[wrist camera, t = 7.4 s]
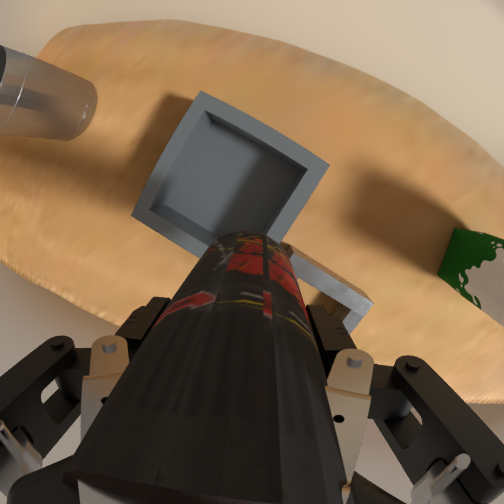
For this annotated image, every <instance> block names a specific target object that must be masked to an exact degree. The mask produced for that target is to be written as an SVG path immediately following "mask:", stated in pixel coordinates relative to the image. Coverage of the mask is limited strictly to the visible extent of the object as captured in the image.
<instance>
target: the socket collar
mask: <svg viewBox="0 0 504 504" xmlns="http://www.w3.org/2000/svg"><path fill="white" fill-rule="evenodd" d="M286 253H287V255H288V257H289V259H290V261H291V264H292V267H293V270H294V273H295V276H296V279H297V280H298V278H300V279H302V280H303V281H305V282H307V283H308V284H310V285H312V286H313V287H315V288H317V289H318V290H320V291H322V292H323V293H325V294H327V295H328V296H330V297H332V298H333V299H335V300H336V301H338V302H340V303H339V305H338V306H337V307H336V309H335V310H334V311H333V313H332V314H331V315H330V316H336V317H337V318H338V319H340V320H341V321H342V322H343V324H344V326H345V327H346V329H347V331H348V334H350V333H351V332H352V331H353V330H354V328H355V327H356V326H357V325H358V323H359V322H360V321H361V320H362V318H363V317H364V316H365V314H366V313H367V312H368V311H369V309H370V308H371V307H372V305H373V304H374V303H373V302H372V301H371V300H370V298H369V297H368V296H367V295H366V293H365V292H363V291H362V290H360V289H359V288H357V287H356V286H354V285H353V284H351V283H350V282H348V281H347V280H345V279H343V278H342V277H340V276H339V275H337V274H336V273H334V272H333V271H331V270H329V269H328V268H326V267H325V266H323V265H322V264H320V263H318V262H317V261H315V260H314V259H312V258H311V257H309V256H307V255H306V254H304V253H303V252H301V251H299V250H298V249H296V248H295V247H293V246H291V245H290V247H289V248H288V250H287V251H286Z"/></svg>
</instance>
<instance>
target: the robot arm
mask: <svg viewBox="0 0 504 504" xmlns="http://www.w3.org/2000/svg"><path fill="white" fill-rule="evenodd" d="M96 103H97V94H96V90H95V87H94V86H93V84H92V83H91V82H90V81H88V80H86V79H84V78H81V77H79V76H77V75H75V74H73V73H71V72H68V71H66V70H64V69H61V68H59V67H57V66H54V65H52V64H50V63H47V62H45V61H42V60H40V59H37V58H35V57H32V56H29V55H27V54H24V53H21V52H18V51H16V50H12V49H10V48H7V47H4V46H1V45H0V135H4V136H21V137H34V138H45V139H55V140H71V139H73V138H75V137H77V136H78V135H79V134H81V133H82V132H83V131H84V129H85V128H86V127H87V126H88V124H89V122H90V121H91V119H92V117H93V114H94V112H95V108H96ZM170 301H171V300H170V298H164V297H153V298H152V299H151V300H150V302H149V303H148V304H147V306H141V307H140V308H138V309H136V310H134V311H133V312H132V314H131V315H130V316H129V318H128V319H127V320H126V321H125V322H124V323H123V325H122V326H121V327H120V329H119V330H118V331H117V332H116V333H115V335H109V336H104V337H101V338H99V339H97V340H96V341H95V342H94V343H93V344H92V348H75V345H74V342H73V340H72V339H71V338H70V337H67V336H55V337H52V338H50V339H48V340H47V341H45V342H44V343H43V344H41V345H40V346H39V347H38V348H36V349H35V350H34V351H32V352H31V353H30V354H28V355H27V356H26V357H25V358H23V359H22V360H21V361H19V362H18V363H17V364H16V365H14V366H13V367H12V368H11V369H10V370H8V371H7V372H6V373H4V374H3V375H2V376H1V377H0V491H2V493H3V494H4V495H5V496H6V497H7V504H150V503H146V502H143V501H139V500H136V499H133V498H129V497H126V496H123V495H120V494H117V493H114V492H112V491H109V490H106V489H104V488H101V487H98V486H96V485H94V484H91V483H89V482H86V481H84V480H82V479H80V478H78V487H79V489H77V488H74V487H72V486H70V485H68V484H66V483H64V482H62V481H63V473H64V471H65V470H66V468H67V466H68V464H69V462H70V461H71V459H72V457H73V455H72V456H69V457H67V458H65V459H63V460H61V461H58V462H56V463H54V464H51V465H49V466H46V467H44V468H42V460H43V459H44V458H45V457H46V455H47V454H48V453H49V451H50V450H51V449H52V448H53V446H55V444H56V443H57V442H58V441H59V440H60V438H61V437H62V436H63V435H64V434H65V432H66V431H67V430H68V429H69V428H70V426H71V425H72V424H73V423H74V422H75V420H76V419H77V418H78V417H79V416H80V414H81V441H82V439H83V438H84V436H85V434H86V433H87V431H88V429H89V427H90V426H91V424H92V422H93V421H94V419H95V417H96V416H97V414H98V412H99V411H100V409H101V407H102V406H103V404H104V402H105V401H106V399H107V398H108V396H109V394H110V393H111V391H112V389H113V388H114V386H115V385H116V383H117V381H118V380H119V378H120V377H121V375H122V374H123V372H124V370H125V369H126V367H127V366H128V364H129V363H130V361H131V360H132V358H133V356H134V355H135V353H136V352H137V350H138V349H139V347H140V346H141V344H142V343H143V341H144V340H145V338H146V337H147V335H148V334H149V332H150V331H151V329H152V328H153V326H154V325H155V323H156V322H157V320H158V319H159V317H160V316H161V314H162V313H163V311H164V310H165V308H166V307H167V305H168V304H169V302H170ZM306 311H307V314H308V317H309V320H310V324H311V327H312V330H313V333H314V337H315V340H316V343H317V347H318V350H319V353H320V357H321V360H322V364H323V367H324V371H325V374H326V378H327V384H328V386H325V390H326V394H327V398H328V402H329V406H330V409H331V413H332V417H333V418H334V420H335V421H336V422H334V426H335V430H336V434H337V438H338V442H339V446H340V451H341V455H342V459H343V464H344V468H345V473H346V477H347V484H346V485H344V486H343V488H342V499H343V504H346V502H347V500H348V496H349V493H350V488H351V485H350V484H351V479H352V477H353V482H354V486H355V491H356V495H357V500H358V504H406V503H404V502H402V501H401V500H399V499H397V498H396V497H394V496H392V495H391V494H389V493H387V492H386V491H384V490H383V489H381V488H379V487H378V486H376V485H375V484H373V483H372V482H370V481H369V480H367V479H366V478H364V477H363V476H361V475H360V474H358V473H357V472H356V471H354V469H355V466H356V462H357V459H358V455H359V451H360V447H361V444H362V440H363V435H364V431H365V426H366V422H367V418H369V419H374V422H375V423H376V425H377V427H378V428H379V430H380V431H381V433H382V435H383V436H384V438H385V439H386V441H387V443H388V444H389V446H390V448H391V449H392V451H393V452H394V454H395V456H396V457H397V459H398V461H399V462H400V464H401V466H402V467H403V469H404V471H405V472H406V474H407V476H408V477H409V479H410V480H411V482H412V484H413V485H414V486H413V488H412V491H411V499H412V501H411V504H490V503H491V502H492V501H494V500H495V499H496V498H497V497H498V496H500V495H501V494H502V493H503V492H504V444H503V443H502V442H501V441H500V440H499V439H498V437H497V436H496V435H495V434H494V433H493V432H492V431H491V430H490V429H489V428H488V426H487V425H486V424H485V423H484V422H483V421H482V420H481V419H480V418H479V417H478V415H477V414H476V413H475V412H474V411H473V410H472V409H471V408H470V407H469V406H468V405H467V404H466V403H465V402H464V401H463V400H462V399H461V397H460V396H459V395H458V394H457V393H456V392H455V391H454V390H453V389H452V388H451V387H450V386H449V385H448V384H447V383H446V382H445V381H444V380H443V379H442V378H441V377H440V376H439V375H438V374H437V373H436V372H435V371H434V370H433V369H432V368H431V367H430V366H429V365H428V364H427V363H426V362H425V361H424V360H422V359H420V358H418V357H415V356H409V355H407V356H401V357H399V358H398V359H397V360H396V362H395V364H394V366H385V365H378V364H374V360H373V358H372V357H371V355H369V354H368V353H366V352H364V351H362V350H359V349H357V348H356V346H355V344H354V342H353V340H352V338H351V337H350V335H349V334H348V331H347V329H346V327H345V326H344V324H343V322H342V321H341V320H340V319H338V318H337V317H336V316H329V315H328V313H327V311H326V309H325V307H324V305H307V306H306ZM54 379H55V381H56V383H57V386H58V388H59V389H58V390H57V391H56V392H55V393H54V394H53V395H52V396H51V397H50V398H49V399H48V400H47V401H46V402H45V403H44V404H43V403H42V401H41V393H42V391H43V390H44V388H46V387H47V386H48V385H49V384H50V383H51V382H52V381H53V380H54ZM412 406H413V407H414V408H415V409H416V411H417V412H418V413H419V414H420V416H421V418H422V425H421V424H420V423H419V422H418V420H417V419H416V418H415V416H414V415H413V414H412V412H411V411H410V410H411V408H412ZM334 420H333V421H334Z"/></svg>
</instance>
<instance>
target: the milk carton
mask: <svg viewBox="0 0 504 504" xmlns="http://www.w3.org/2000/svg"><path fill="white" fill-rule="evenodd" d="M438 276H439V277H441V278H442V279H443V280H444V281H445V282H447V283H448V284H449V285H450V286H451V287H452V288H454V289H455V290H456V291H457V292H458V293H459V294H461V295H462V296H463V297H464V298H466V299H467V300H469V301H470V302H471V303H473V304H474V305H475V306H477V307H478V308H479V309H481V310H482V311H483V312H485V313H486V314H487V315H489V316H490V317H491V318H493V319H494V320H495V321H497V322H498V323H499V324H500V325H502V326H503V327H504V240H503V239H501V238H498V237H495V236H492V235H489V234H486V233H482V232H476V231H470V230H464V229H458V228H454V231H453V234H452V237H451V240H450V243H449V246H448V249H447V252H446V254H445V257H444V260H443V262H442V265H441V268H440V270H439V273H438Z"/></svg>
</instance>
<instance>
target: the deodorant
mask: <svg viewBox="0 0 504 504" xmlns="http://www.w3.org/2000/svg"><path fill="white" fill-rule="evenodd" d="M325 386H328V384H327V378H326V374H325V371H324V367H323V364H322V360H321V357H320V353H319V350H318V347H317V343H316V340H315V337H314V333H313V330H312V327H311V324H310V320H309V317H308V314H307V311H306V308H305V304H304V301H303V298H302V295H301V292H300V289H299V285H298V282H297V279H296V276H295V273H294V270H293V267H292V264H291V261H290V259H289V257H288V255H287V253H286V251H285V250H284V249H283V248H282V247H281V246H280V245H279V244H278V243H277V242H276V241H275V240H273V239H271V238H270V237H268V236H267V235H264V234H261V233H258V232H255V231H237V232H232V233H228V234H226V235H224V236H222V237H220V238H218V239H217V240H216V241H215V242H214V243H212V244H211V245H210V246H209V247H208V249H207V250H206V251H205V253H204V254H203V255H202V257H201V258H200V260H199V261H198V262H197V264H196V265H195V267H194V268H193V269H192V271H191V272H190V274H189V275H188V277H187V278H186V279H185V281H184V282H183V284H182V285H181V287H180V288H179V289H178V291H177V292H176V294H175V295H174V297H173V298H172V300H171V301H170V302H169V304H168V305H167V307H166V308H165V310H164V311H163V313H162V314H161V316H160V317H159V319H158V320H157V322H156V323H155V325H154V326H153V328H152V329H151V331H150V332H149V334H148V335H147V337H146V338H145V340H144V341H143V343H142V344H141V346H140V347H139V349H138V350H137V352H136V353H135V355H134V356H133V358H132V360H131V361H130V363H129V364H128V366H127V367H126V369H125V370H124V372H123V374H122V375H121V377H120V378H119V380H118V381H117V383H116V385H115V386H114V388H113V389H112V391H111V393H110V394H109V396H108V398H107V399H106V401H105V402H104V404H103V406H102V407H101V409H100V411H99V412H98V414H97V416H96V417H95V419H94V421H93V422H92V424H91V426H90V427H89V429H88V431H87V433H86V434H85V436H84V438H83V439H82V441H81V443H80V445H79V447H78V448H77V450H76V452H75V453H74V455H73V457H72V459H71V461H70V462H69V464H68V466H67V468H66V470H65V471H64V473H63V481H62V482H64V483H66V484H68V485H70V486H72V487H74V488H77V489H79V487H78V478H80V479H82V480H84V481H86V482H89V483H91V484H94V485H96V486H98V487H101V488H104V489H106V490H109V491H112V492H114V493H117V494H120V495H123V496H126V497H129V498H133V499H136V500H139V501H143V502H146V503H150V504H343V499H342V488H343V486H344V485H346V484H347V477H346V473H345V468H344V464H343V459H342V455H341V451H340V446H339V442H338V438H337V434H336V430H335V426H334V422H336V421H335V420H334V418H333V417H332V413H331V409H330V406H329V402H328V398H327V394H326V390H325ZM333 420H334V421H333ZM350 485H351V488H350V493H349V496H348V500H347V502H346V504H358V500H357V495H356V491H355V486H354V482H353V477H352V479H351V484H350Z"/></svg>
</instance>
